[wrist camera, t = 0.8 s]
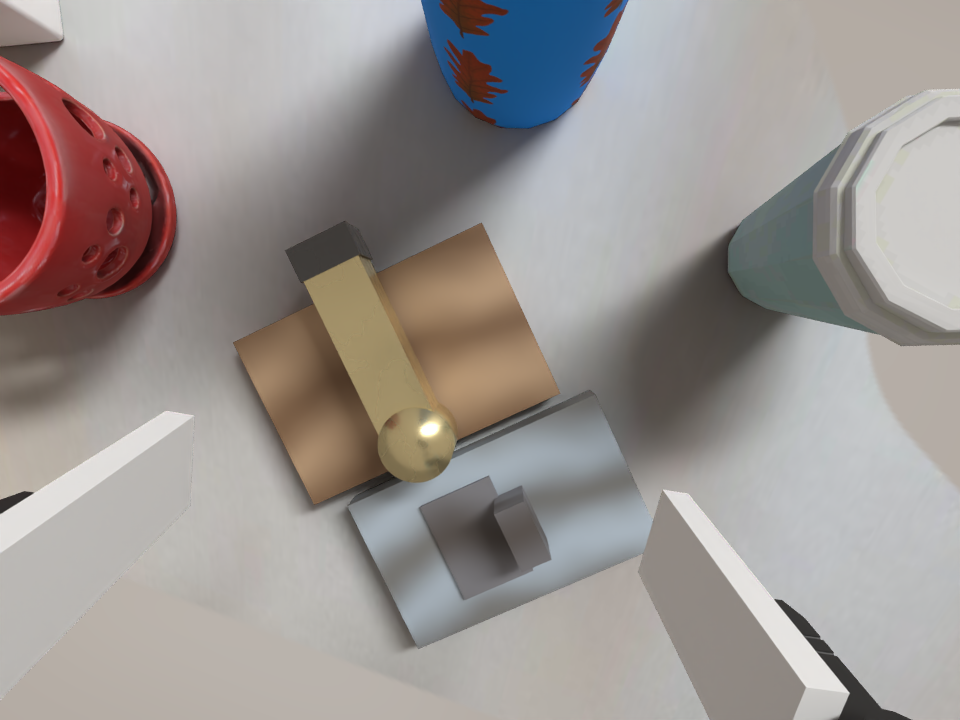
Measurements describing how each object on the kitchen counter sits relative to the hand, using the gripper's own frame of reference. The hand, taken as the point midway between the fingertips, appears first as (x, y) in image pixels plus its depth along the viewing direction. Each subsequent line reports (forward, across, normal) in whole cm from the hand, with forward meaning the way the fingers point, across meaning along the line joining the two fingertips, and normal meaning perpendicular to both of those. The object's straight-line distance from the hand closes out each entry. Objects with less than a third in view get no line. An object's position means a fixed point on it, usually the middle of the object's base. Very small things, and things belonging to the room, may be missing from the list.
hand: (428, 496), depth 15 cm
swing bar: (+19, +4, +1) cm, 20 cm away
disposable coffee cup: (+22, -20, -9) cm, 31 cm away
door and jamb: (+21, -1, +7) cm, 22 cm away
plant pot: (+25, +24, -3) cm, 35 cm away
